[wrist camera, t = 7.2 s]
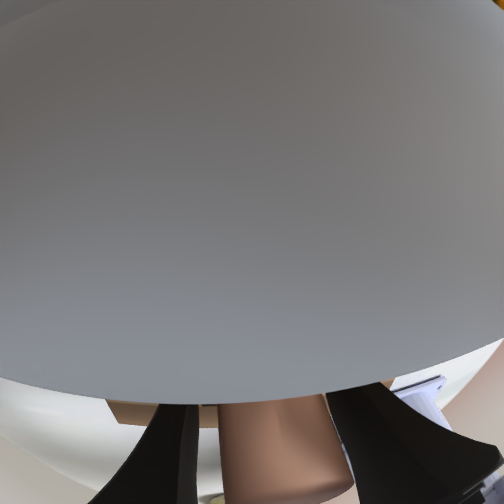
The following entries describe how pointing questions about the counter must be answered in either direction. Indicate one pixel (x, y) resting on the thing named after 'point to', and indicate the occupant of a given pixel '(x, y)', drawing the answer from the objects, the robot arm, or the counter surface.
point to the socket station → (247, 195)
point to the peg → (281, 452)
